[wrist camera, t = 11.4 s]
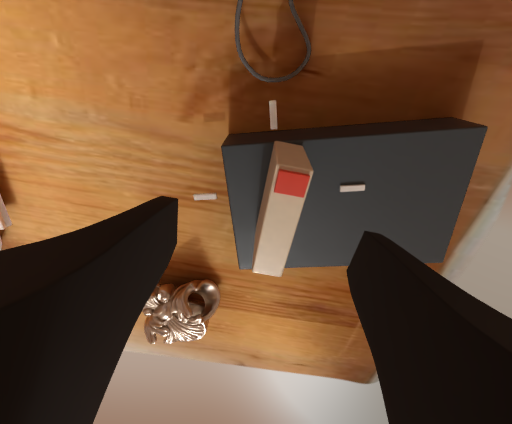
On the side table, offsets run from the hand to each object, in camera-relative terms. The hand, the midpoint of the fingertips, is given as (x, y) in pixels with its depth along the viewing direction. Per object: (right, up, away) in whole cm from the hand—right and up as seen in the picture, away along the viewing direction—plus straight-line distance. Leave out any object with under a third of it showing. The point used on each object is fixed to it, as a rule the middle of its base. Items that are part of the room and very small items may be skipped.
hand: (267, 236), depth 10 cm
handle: (+1, +2, +5) cm, 6 cm away
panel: (+4, +3, +8) cm, 10 cm away
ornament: (-8, -7, +15) cm, 18 cm away
